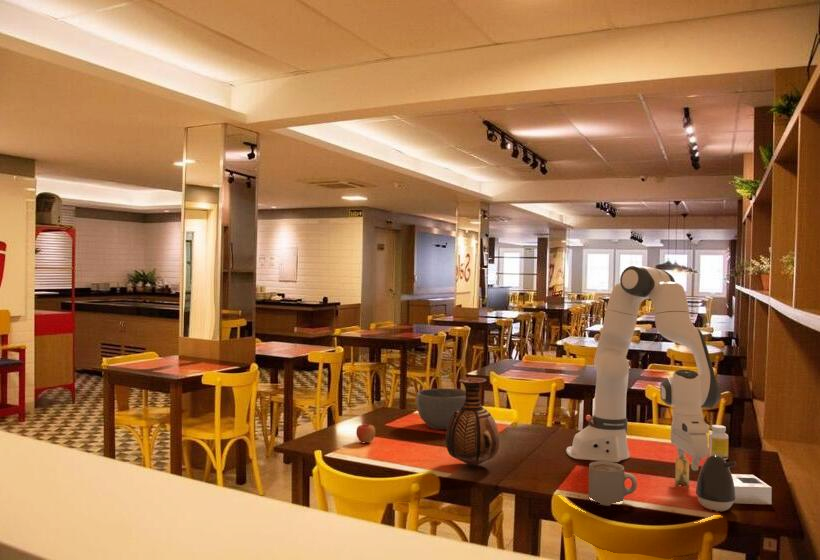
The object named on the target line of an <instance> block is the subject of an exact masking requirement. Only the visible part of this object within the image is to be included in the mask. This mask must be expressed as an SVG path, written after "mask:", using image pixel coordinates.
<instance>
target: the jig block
mask: <svg viewBox="0 0 820 560" xmlns="http://www.w3.org/2000/svg"><path fill="white" fill-rule="evenodd" d="M731 474H732V478H733V482H734V487H735V500H734V502H733V504H744V505H745V504H746V505H748V504H749V505H772V492H773V491H772V490H773V489H772V488H773V487H772V486H770V485H769V484H767V483H766V482H764V481H763V480H761V479H760V478H758V477H757V476H755V475H754V474H746V473H745V474H740V473H731Z"/></svg>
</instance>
